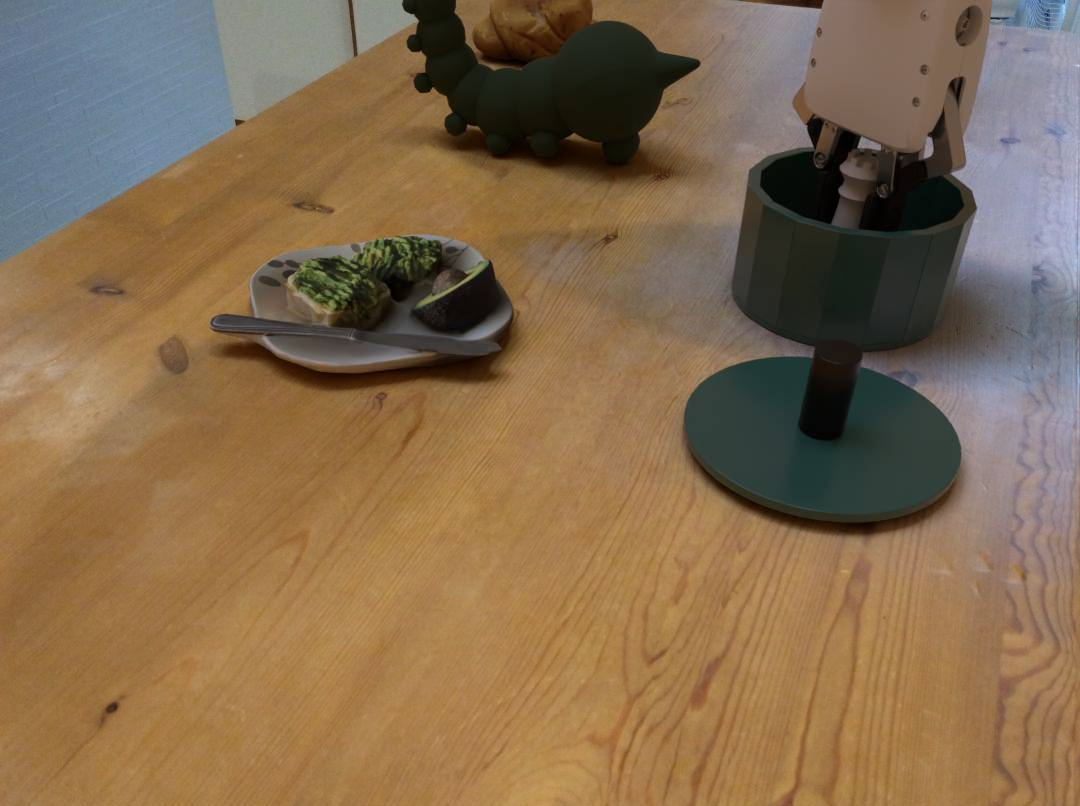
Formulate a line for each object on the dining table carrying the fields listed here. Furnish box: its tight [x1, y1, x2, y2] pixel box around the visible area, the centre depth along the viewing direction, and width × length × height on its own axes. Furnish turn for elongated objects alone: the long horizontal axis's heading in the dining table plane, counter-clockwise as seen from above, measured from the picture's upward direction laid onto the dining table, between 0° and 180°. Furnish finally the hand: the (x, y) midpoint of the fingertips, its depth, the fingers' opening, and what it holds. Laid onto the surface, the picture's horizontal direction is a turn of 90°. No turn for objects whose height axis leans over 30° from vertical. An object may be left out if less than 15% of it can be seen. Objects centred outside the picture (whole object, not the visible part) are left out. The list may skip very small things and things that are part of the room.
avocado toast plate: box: [209, 233, 515, 374], centre depth 69 cm, size 19×18×5 cm
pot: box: [731, 146, 978, 352], centre depth 72 cm, size 15×15×8 cm
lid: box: [682, 340, 962, 523], centre depth 59 cm, size 16×16×6 cm
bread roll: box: [471, 0, 594, 63], centre depth 112 cm, size 13×10×8 cm
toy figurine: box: [401, 0, 701, 165], centre depth 88 cm, size 9×19×25 cm
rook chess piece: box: [831, 147, 880, 229], centre depth 71 cm, size 4×4×8 cm
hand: (850, 233), depth 72 cm, fingers closed on rook chess piece, 3 cm apart
